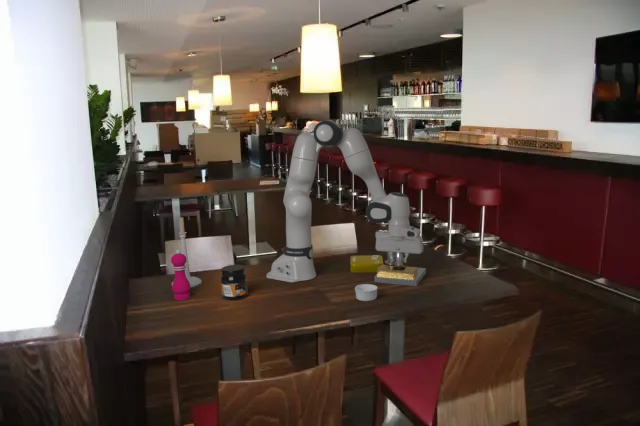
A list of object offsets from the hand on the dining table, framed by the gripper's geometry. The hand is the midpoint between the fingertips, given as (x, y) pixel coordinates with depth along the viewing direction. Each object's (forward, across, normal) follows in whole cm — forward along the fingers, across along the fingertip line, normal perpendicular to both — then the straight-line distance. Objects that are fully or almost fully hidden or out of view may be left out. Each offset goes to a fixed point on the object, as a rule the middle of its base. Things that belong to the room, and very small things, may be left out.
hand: (399, 262), depth 224 cm
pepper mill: (+8, -77, -49) cm, 92 cm away
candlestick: (+8, -87, -33) cm, 93 cm away
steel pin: (+5, 0, 0) cm, 5 cm away
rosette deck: (+8, 0, +2) cm, 8 cm away
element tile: (+8, -19, +12) cm, 24 cm away
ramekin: (+8, -6, -26) cm, 28 cm away
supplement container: (+8, -57, -41) cm, 71 cm away
